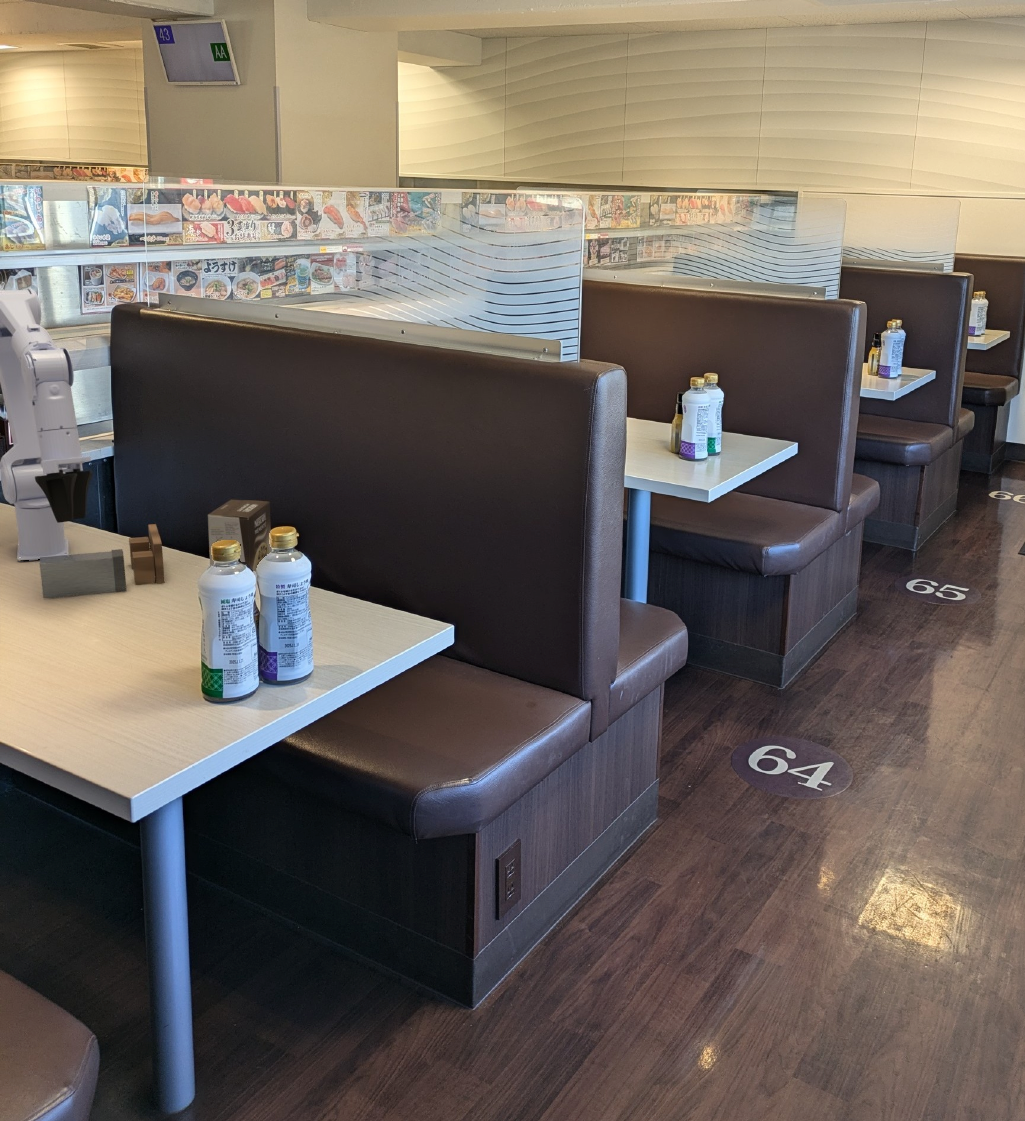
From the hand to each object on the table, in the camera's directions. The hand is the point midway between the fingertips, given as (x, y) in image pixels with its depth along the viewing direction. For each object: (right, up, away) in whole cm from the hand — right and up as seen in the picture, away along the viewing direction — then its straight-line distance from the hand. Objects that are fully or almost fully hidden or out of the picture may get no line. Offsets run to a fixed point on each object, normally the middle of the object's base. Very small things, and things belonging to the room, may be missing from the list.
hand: (71, 520), depth 169 cm
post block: (+7, -8, +13) cm, 17 cm away
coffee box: (+26, -14, -1) cm, 30 cm away
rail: (0, -11, +5) cm, 12 cm away
